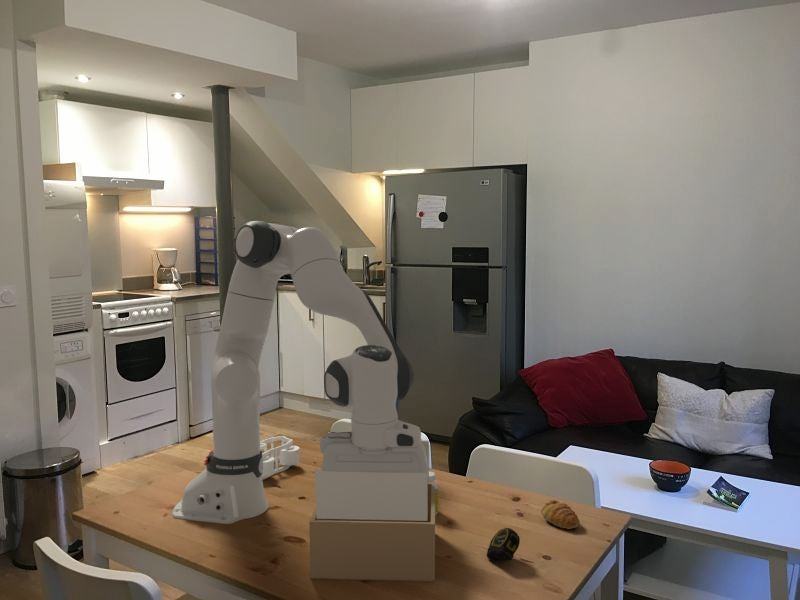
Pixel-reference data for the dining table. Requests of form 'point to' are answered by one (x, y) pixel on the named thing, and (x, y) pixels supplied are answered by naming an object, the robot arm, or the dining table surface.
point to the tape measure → (503, 545)
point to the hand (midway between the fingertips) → (375, 502)
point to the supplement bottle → (431, 479)
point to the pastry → (560, 515)
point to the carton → (374, 548)
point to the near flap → (371, 495)
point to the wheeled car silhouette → (287, 455)
